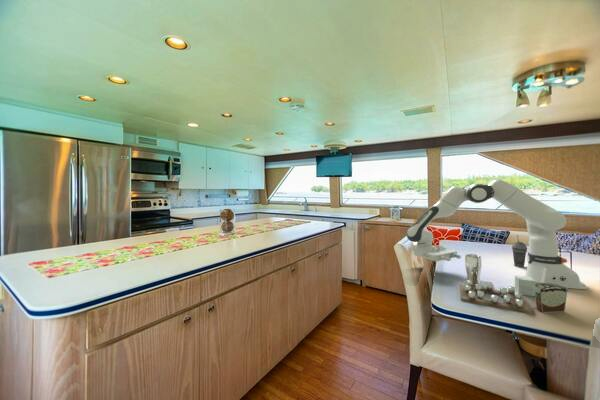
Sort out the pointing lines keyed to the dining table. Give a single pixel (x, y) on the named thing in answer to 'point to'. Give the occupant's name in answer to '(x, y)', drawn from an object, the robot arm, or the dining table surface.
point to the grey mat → (483, 283)
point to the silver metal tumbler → (473, 268)
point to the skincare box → (524, 285)
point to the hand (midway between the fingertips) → (455, 258)
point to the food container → (550, 297)
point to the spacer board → (500, 305)
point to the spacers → (494, 297)
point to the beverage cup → (519, 253)
